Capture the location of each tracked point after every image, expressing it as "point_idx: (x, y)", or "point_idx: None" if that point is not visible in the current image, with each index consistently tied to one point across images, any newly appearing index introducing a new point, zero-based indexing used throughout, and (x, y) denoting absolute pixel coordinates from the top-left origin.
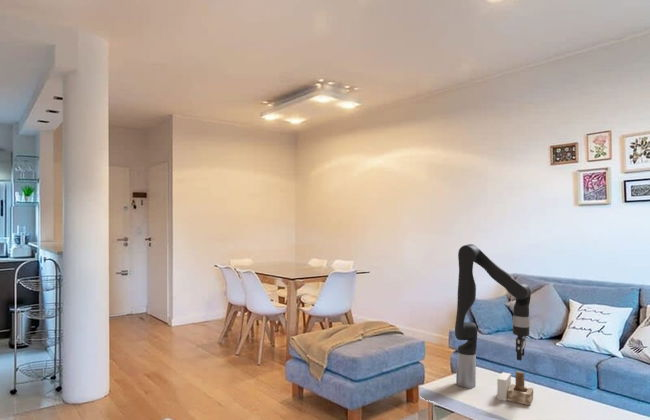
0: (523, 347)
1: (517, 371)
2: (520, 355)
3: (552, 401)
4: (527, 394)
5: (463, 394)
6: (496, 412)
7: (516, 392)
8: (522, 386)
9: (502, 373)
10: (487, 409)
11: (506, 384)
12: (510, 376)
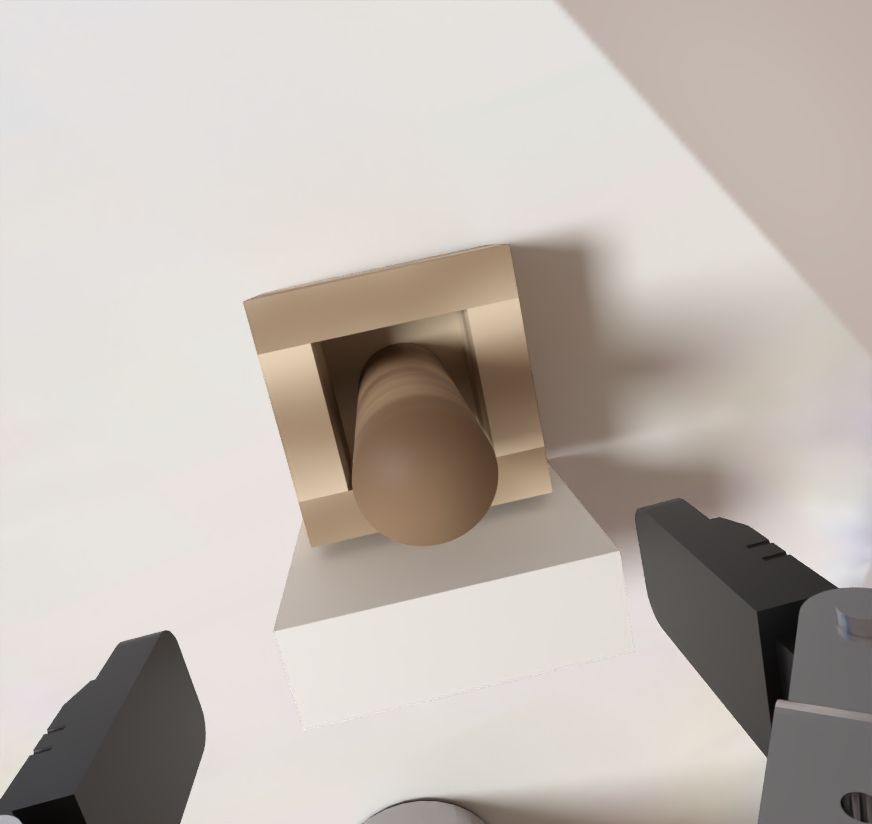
0: (849, 728)
1: (396, 530)
2: (810, 571)
3: (142, 108)
4: (513, 274)
5: (651, 773)
6: (857, 408)
7: (533, 397)
8: (444, 375)
9: (361, 707)
10: (841, 490)
11: (573, 530)
12: (307, 607)
